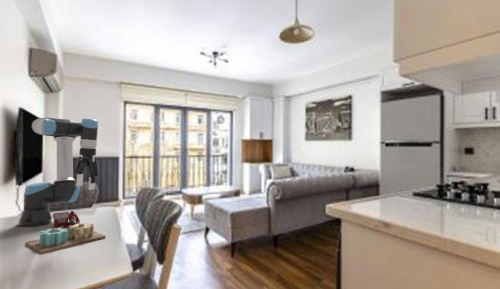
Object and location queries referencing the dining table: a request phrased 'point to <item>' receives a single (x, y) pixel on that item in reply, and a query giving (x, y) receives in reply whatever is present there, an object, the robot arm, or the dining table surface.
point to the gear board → (69, 238)
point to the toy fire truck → (65, 220)
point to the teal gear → (53, 237)
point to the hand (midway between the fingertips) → (85, 187)
